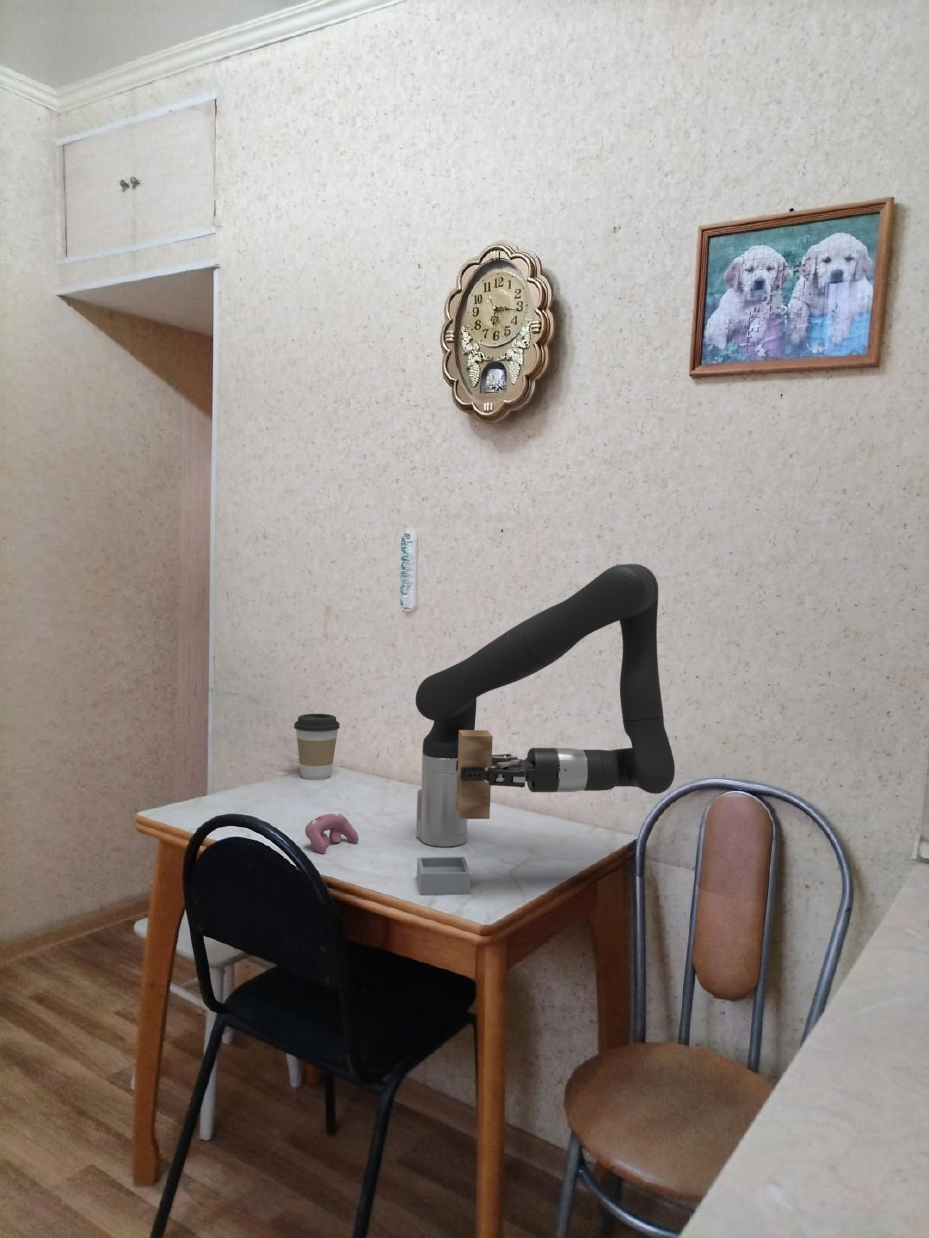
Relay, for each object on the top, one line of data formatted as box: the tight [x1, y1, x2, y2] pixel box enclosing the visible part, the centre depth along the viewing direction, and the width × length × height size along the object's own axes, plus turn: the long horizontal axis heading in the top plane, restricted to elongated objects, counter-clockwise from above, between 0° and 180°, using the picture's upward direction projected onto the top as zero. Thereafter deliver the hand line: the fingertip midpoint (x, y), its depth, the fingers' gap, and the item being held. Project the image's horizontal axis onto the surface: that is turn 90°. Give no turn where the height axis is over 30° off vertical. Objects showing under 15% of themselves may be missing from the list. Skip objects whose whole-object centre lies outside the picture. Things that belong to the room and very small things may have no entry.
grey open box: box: [416, 856, 471, 896], centre depth 153 cm, size 8×8×4 cm
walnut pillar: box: [456, 729, 494, 820], centre depth 153 cm, size 5×5×14 cm
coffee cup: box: [293, 713, 341, 781], centre depth 224 cm, size 11×11×15 cm
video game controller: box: [304, 813, 359, 854], centre depth 172 cm, size 10×5×7 cm, turn 142°
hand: (458, 769), depth 152 cm, fingers closed on walnut pillar, 5 cm apart
